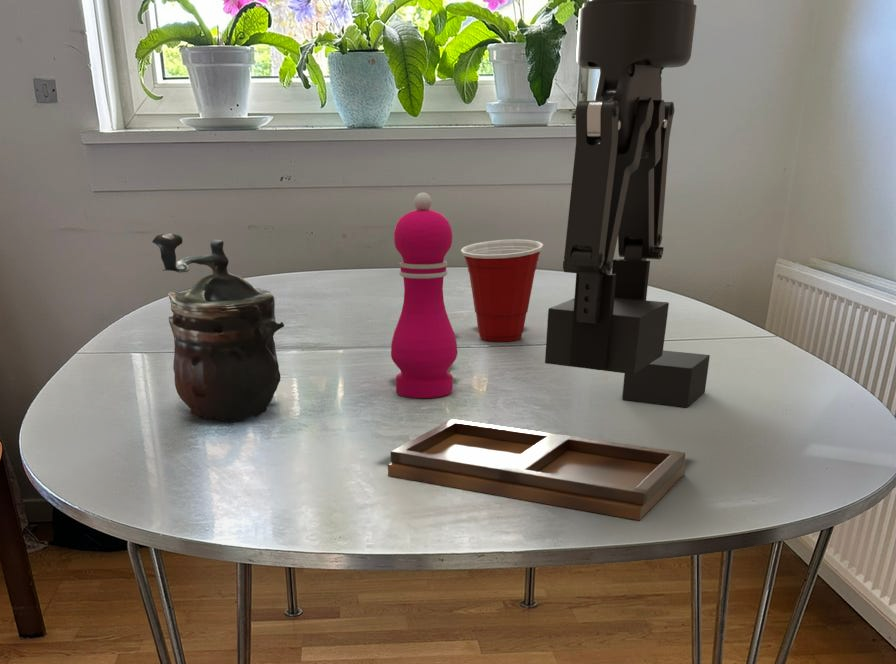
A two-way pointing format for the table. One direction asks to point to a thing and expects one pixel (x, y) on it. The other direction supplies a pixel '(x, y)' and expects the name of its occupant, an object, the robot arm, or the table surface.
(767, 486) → the table surface
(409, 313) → the pepper mill
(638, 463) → the divided wooden tray
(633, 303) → the black square block
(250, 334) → the coffee grinder
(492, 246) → the plastic cup
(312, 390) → the table surface
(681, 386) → the dark grey square block
